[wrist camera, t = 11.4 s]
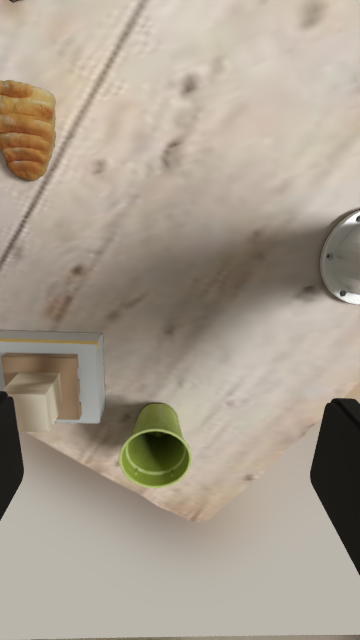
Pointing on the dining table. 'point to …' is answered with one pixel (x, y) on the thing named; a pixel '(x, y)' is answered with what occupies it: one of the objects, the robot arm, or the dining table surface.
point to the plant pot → (155, 449)
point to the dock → (66, 343)
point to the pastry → (26, 128)
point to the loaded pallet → (49, 365)
